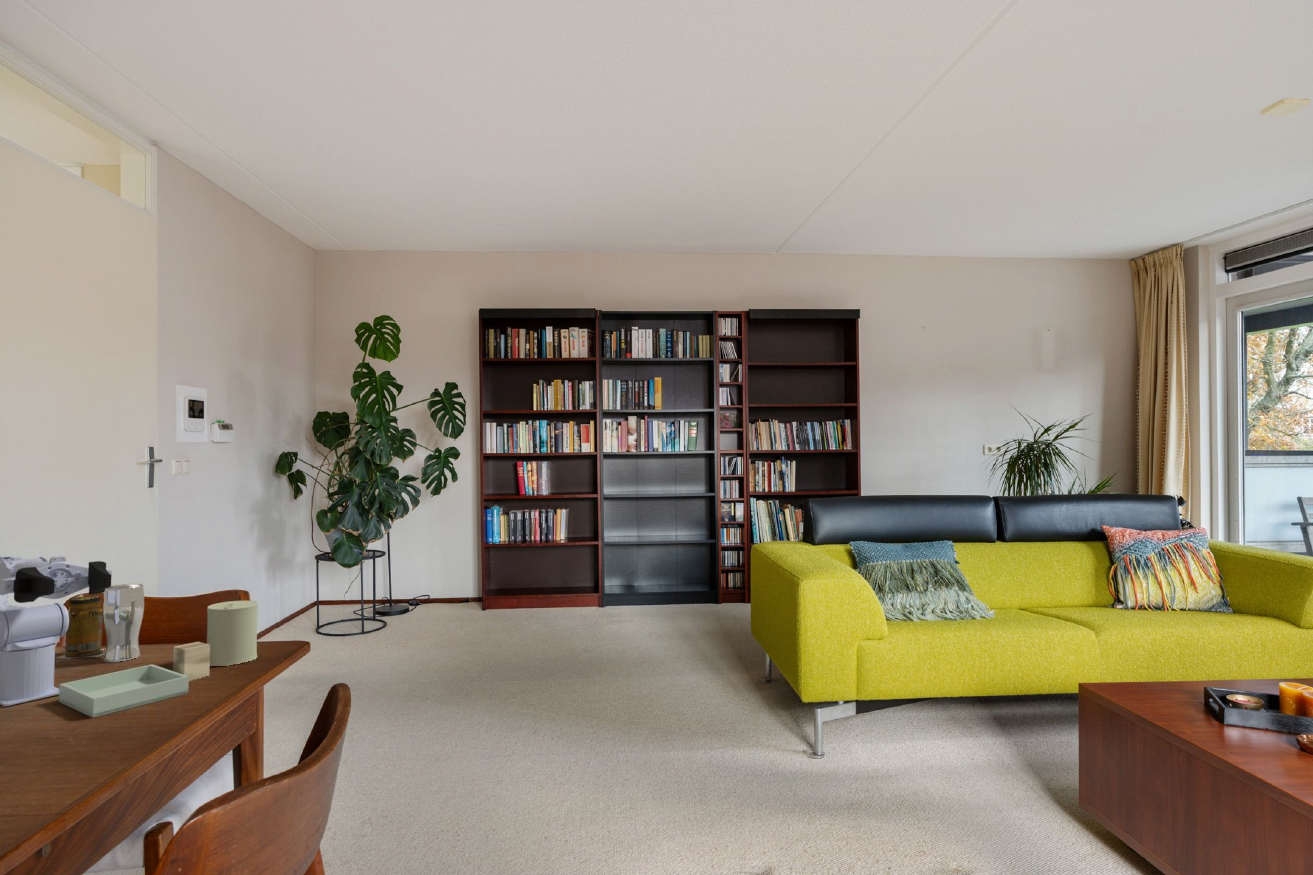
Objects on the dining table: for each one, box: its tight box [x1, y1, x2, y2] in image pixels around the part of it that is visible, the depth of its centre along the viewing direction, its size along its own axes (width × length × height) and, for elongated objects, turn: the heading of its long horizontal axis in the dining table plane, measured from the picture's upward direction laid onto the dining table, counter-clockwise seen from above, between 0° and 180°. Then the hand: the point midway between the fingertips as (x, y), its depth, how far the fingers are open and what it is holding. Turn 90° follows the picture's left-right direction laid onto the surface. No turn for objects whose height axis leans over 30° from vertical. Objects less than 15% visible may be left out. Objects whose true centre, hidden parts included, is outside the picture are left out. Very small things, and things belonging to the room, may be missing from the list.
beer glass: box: [102, 583, 145, 663], centre depth 147 cm, size 7×7×15 cm
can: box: [206, 600, 259, 667], centre depth 146 cm, size 9×9×12 cm
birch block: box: [172, 641, 211, 682], centre depth 134 cm, size 4×4×6 cm
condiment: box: [55, 595, 106, 660], centre depth 150 cm, size 7×8×12 cm
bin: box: [58, 664, 190, 718], centre depth 123 cm, size 14×14×3 cm
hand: (81, 583), depth 114 cm, fingers open, 7 cm apart
